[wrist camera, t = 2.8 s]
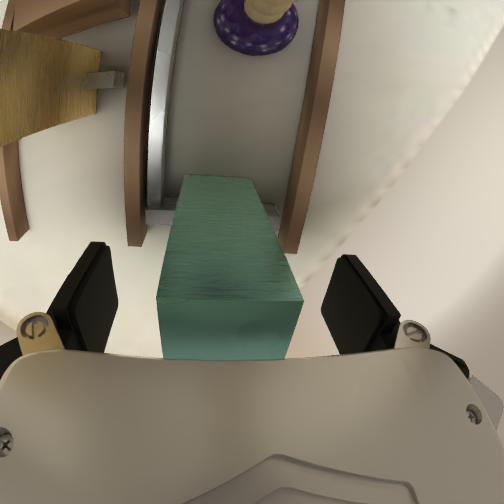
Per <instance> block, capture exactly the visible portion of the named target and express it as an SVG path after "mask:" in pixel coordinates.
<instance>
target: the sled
mask: <svg viewBox="0 0 504 504" xmlns="http://www.w3.org/2000/svg"><path fill="white" fill-rule="evenodd" d="M100 59H101V51H100V50H97V49H94V48H90V47H87V46H83V45H80V44H76V43H72V42H68V41H64V40H60V39H56V38H51V37H47V36H42V35H37V34H32V33H26V32H20V31H13V30H6V29H0V147H2V146H4V145H6V144H9V143H11V142H13V141H16V140H18V139H21V138H23V137H26V136H28V135H31V134H33V133H36V132H39V131H42V130H44V129H47V128H50V127H53V126H56V125H59V124H62V123H65V122H69V121H72V120H75V119H79V118H82V117H86V116H90V115H93V114H96V103H97V89H103V88H116V87H124V82H125V72H119V71H106V72H99V67H100Z"/></svg>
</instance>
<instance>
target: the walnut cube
mask: <svg viewBox="0 0 504 504" xmlns="http://www.w3.org/2000/svg"><path fill="white" fill-rule="evenodd" d="M129 16H130V0H16V3H15V12H14V22H13V31H20V32H26V33H32V34H37V35H42V36H47V37H51V38H56V39H61V38H63V37H66V36H68V35H71V34H74V33H76V32H79V31H82V30H85V29H87V28H90V27H93V26H97V25H100V24H103V23H106V22H110V21H113V20H117V19H121V18H125V17H129Z"/></svg>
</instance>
